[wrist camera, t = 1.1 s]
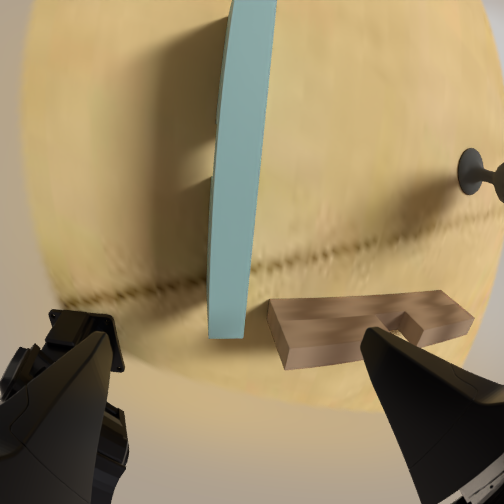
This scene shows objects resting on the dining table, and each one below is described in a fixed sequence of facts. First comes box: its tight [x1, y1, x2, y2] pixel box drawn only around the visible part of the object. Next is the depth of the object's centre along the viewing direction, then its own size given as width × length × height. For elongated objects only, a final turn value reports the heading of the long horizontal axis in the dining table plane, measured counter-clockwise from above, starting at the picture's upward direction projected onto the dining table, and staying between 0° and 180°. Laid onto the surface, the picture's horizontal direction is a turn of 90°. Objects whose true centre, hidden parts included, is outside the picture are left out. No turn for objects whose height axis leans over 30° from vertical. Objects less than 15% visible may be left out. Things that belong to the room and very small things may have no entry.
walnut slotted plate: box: [267, 290, 474, 370], centre depth 22 cm, size 20×2×6 cm, turn 85°
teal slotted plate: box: [206, 0, 277, 339], centre depth 15 cm, size 20×2×6 cm, turn 175°
